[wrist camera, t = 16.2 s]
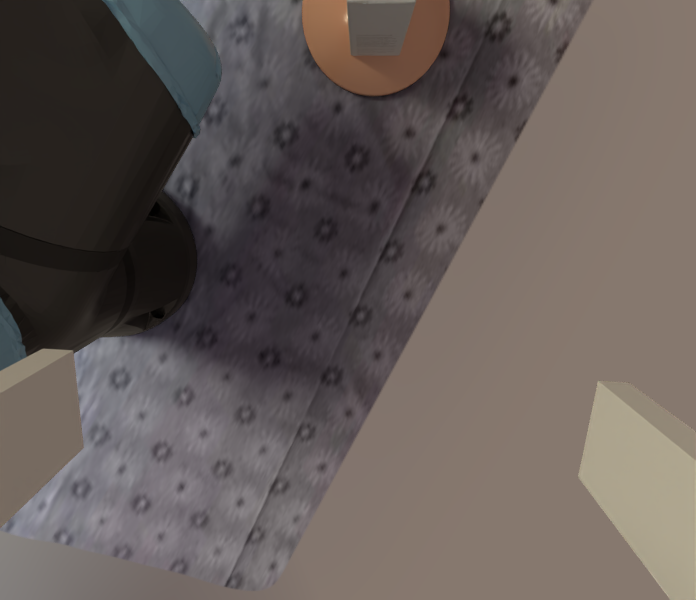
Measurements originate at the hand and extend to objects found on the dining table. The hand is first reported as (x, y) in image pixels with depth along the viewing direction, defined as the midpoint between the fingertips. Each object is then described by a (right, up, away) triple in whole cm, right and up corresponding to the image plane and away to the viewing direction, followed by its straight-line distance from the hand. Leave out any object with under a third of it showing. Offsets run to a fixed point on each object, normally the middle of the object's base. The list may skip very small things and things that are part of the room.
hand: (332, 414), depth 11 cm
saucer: (+3, +26, +26) cm, 37 cm away
